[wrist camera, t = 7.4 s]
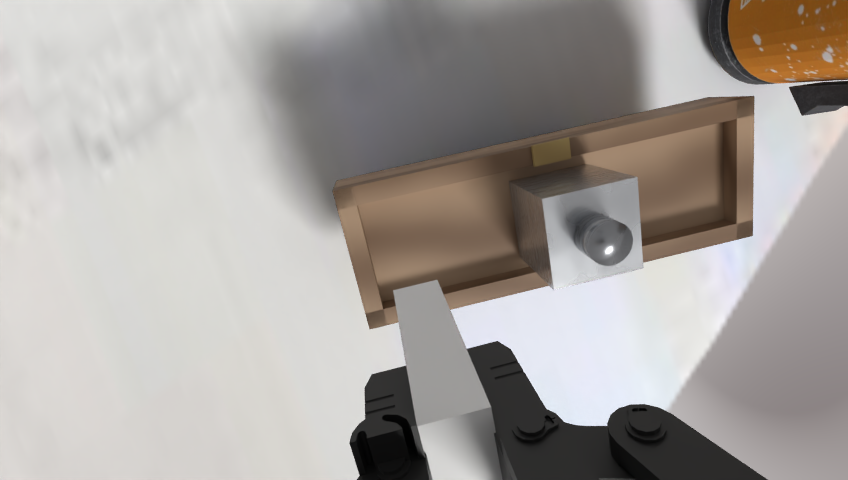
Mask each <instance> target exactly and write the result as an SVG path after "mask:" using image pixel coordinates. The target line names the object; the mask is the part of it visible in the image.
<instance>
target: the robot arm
mask: <svg viewBox="0 0 848 480" xmlns="http://www.w3.org/2000/svg"><path fill="white" fill-rule="evenodd" d="M393 293H394V298H395V304H396V310H397V315H398V321H399V327H400V333H401V338H402V344H403V350H404V355H405V361H406V366H403V367H399V368H395V369H391V370H387V371H383V372H379V373H376V374H372V375H371V377H370V379H369V381H368V383H367V385H366V386H365V414H366V415H365V420H364V421H362V422H361V423H360V424H359V425H358V426H357V427H356V429H355V430H354V431H353V433H352V436H351V439H350V446H351V449H352V452H353V456H354V459H355V462H356V465H357V468H358V471H359V474H360V476H359V477H358V479H357V480H767V479H766V478H764V477H763V476H761V475H760V474H758V473H757V472H756V471H754V470H753V469H751V468H750V467H748V466H747V465H745V464H744V463H742V462H741V461H739V460H738V459H736V458H735V457H734V456H732V455H731V454H729V453H728V452H726V451H725V450H723V449H722V448H720V447H719V446H717V445H716V444H715V443H713V442H712V441H710V440H709V439H707V438H706V437H704V436H703V435H701V434H700V433H699V432H697V431H696V430H694V429H693V428H691V427H690V426H688V425H687V424H685V423H684V422H683V421H681V420H680V419H678V418H677V417H675V416H674V415H672V414H671V413H669V412H667V411H665V410H663V409H661V408H658V407H654V406H650V405H645V404H639V405H628V406H625V407H621V408H619V409H617V410H616V411H615V412H614V413H612V414H611V416H610V418H609V421H608V423H607V424H608V426H578V425H573V424H569V423H565V422H563V420H562V419H561V418H560V417H559V416H558V415H557V414H556V413H554V412H552V411H549V410H547V409H546V408H545V406H544V405H543V403H542V401H541V399H540V398H539V396H538V394H537V393H536V391H535V389H534V388H533V386H532V384H531V383H530V381H529V379H528V378H527V376H526V374H525V373H524V372H523V369H522V368H521V366H520V364H519V363H518V361H517V359H516V357H515V356H514V354H513V352H512V351H511V349H509V348H508V347H506V346H505V345H503V344H501V343H500V342H498V341H496V342H492V343H488V344H484V345H480V346H476V347H473V348H469V349H466V346H465V344H464V342H463V339H462V337H461V335H460V332H459V330H458V328H457V325H456V323H455V320H454V318H453V316H452V313H451V311H450V309H449V306H448V304H447V302H446V299H445V297H444V294H443V292H442V290H441V287H440V285H439V283H438V280H434V281H430V282H426V283H421V284H417V285H413V286H409V287H405V288H401V289H397V290H393Z"/></svg>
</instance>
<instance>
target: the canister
mask: <svg viewBox="0 0 848 480" xmlns="http://www.w3.org/2000/svg"><path fill="white" fill-rule="evenodd" d="M708 33H709V39H710V44H711V47H712V50H713V53H714V55H715V57H716V59H717V61H718V63H719V64H720V65H721V67H722V68H723V69H724V70H725V71H726V72H727V73H728V74H729V75H731V76H732V77H734V78H735V79H737V80H739V81H742V82H745V83H749V84H775V83H794V82H812V81H831V80H848V0H712V2H711V6H710V10H709V19H708ZM789 89H790V91H791V93H792V95H793V97H794V100H795V102H796V104H797V106H798V108H799V110H800V113H801V115H802V116H803V115H810V114H816V113H823V112H829V111H836V110H838V109H839V108H841V107H843V106H848V81H837V82H820V83H813V84H807V85H800V86H793V87H789Z"/></svg>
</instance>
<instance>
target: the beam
mask: <svg viewBox="0 0 848 480" xmlns="http://www.w3.org/2000/svg"><path fill="white" fill-rule="evenodd" d="M583 164H590V165H594V166H598V167H602V168H605V169H609V170H613V171H617V172H621V173H625V174H628V175H632V176H636V177H638V192H639V208H640V223H641V239H642V254H643V262H648V261H652V260H656V259H660V258H664V257H668V256H672V255H676V254H680V253H684V252H688V251H693V250H697V249H701V248H705V247H709V246H713V245H717V244H721V243H725V242H729V241H734V240H738V239H742V238H746V237H750V236H753V165H754V96H742V97H707V98H703V99H698V100H694V101H689V102H685V103H681V104H676V105H672V106H667V107H663V108H658V109H654V110H649V111H645V112H640V113H636V114H631V115H627V116H623V117H618V118H614V119H609V120H605V121H600V122H596V123H591V124H587V125H582V126H578V127H573V128H569V129H564V130H560V131H556V132H551V133H547V134H542V135H538V136H533V137H529V138H524V139H520V140H515V141H511V142H506V143H502V144H497V145H493V146H489V147H484V148H480V149H475V150H471V151H466V152H462V153H457V154H453V155H448V156H444V157H439V158H435V159H431V160H426V161H422V162H417V163H413V164H408V165H404V166H399V167H395V168H390V169H386V170H381V171H377V172H372V173H368V174H364V175H359V176H355V177H350V178H346V179H341V180H337V181H336V183H335V186H334V189H333V195H334V199H335V202H336V206H337V210H338V213H339V217H340V221H341V225H342V228H343V232H344V236H345V239H346V243H347V247H348V251H349V254H350V258H351V262H352V265H353V269H354V273H355V277H356V280H357V284H358V288H359V291H360V295H361V299H362V303H363V306H364V310H365V314H366V317H367V321H368V325H369V329H373V328H377V327H381V326H385V325H389V324H394V323H398V322H399V321H398V315H397V310H396V304H395V298H394V293H393V290H397V289H401V288H405V287H409V286H413V285H417V284H421V283H426V282H430V281H434V280H438V283H439V285H440V287H441V290H442V292H443V294H444V297H445V299H446V302H447V304H448V306H449V309H450V310H451V309H455V308H459V307H463V306H467V305H471V304H475V303H480V302H484V301H488V300H492V299H496V298H500V297H504V296H508V295H512V294H516V293H521V292H525V291H529V290H533V289H537V288H541V287H545V286H549V285H548V284H547V283H546V282H545V281H544V280H543V279H542V278H541V277H540V276H539V275H538V274H537V273H536V272H535V271H534V270H533V269H532V268H531V267H530V266H529V265H528V264H527V263H526V262H525V261H524V260H523V259H521V258H520V253H519V247H518V240H517V233H516V227H515V220H514V213H513V207H512V200H511V194H510V187H509V181H513V180H517V179H522V178H526V177H530V176H535V175H539V174H544V173H548V172H552V171H557V170H561V169H565V168H570V167H574V166H579V165H583Z"/></svg>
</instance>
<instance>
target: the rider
mask: <svg viewBox="0 0 848 480" xmlns="http://www.w3.org/2000/svg"><path fill="white" fill-rule="evenodd" d="M509 187H510V194H511V200H512V207H513V213H514V220H515V227H516V233H517V240H518V247H519V253H520V258H521V259H523V260H524V261H525V262H526V263H527V264H528V265H529V266H530V267H531V268H532V269H533V270H534V271H535V272H536V273H537V274H538V275H539V276H540V277H541V278H542V279H543V280H544V281H545V282H546V283H547V284H548V285H549V286H550V287H551V288H552V289H553V290H556V289H560V288H564V287H568V286H573V285H577V284H581V283H585V282H589V281H593V280H597V279H601V278H605V277H609V276H613V275H617V274H622V273H626V272H630V271H634V270H638V269H642V268H643V254H642V239H641V223H640V208H639V192H638V177H636V176H632V175H628V174H625V173H621V172H617V171H613V170H609V169H605V168H602V167H598V166H594V165H590V164H583V165H579V166H574V167H570V168H565V169H561V170H557V171H552V172H548V173H544V174H539V175H535V176H530V177H526V178H522V179H517V180H513V181H509Z"/></svg>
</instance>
